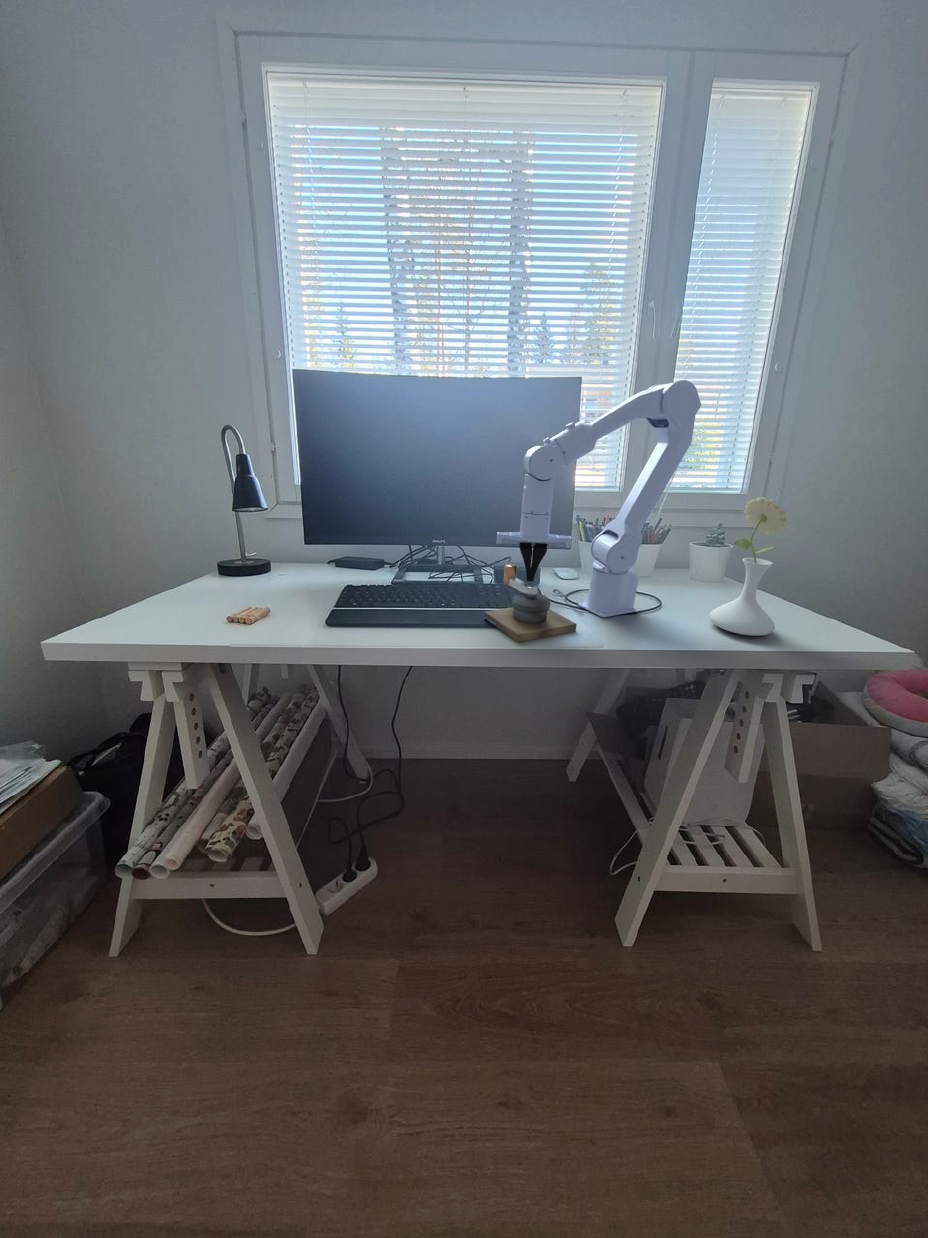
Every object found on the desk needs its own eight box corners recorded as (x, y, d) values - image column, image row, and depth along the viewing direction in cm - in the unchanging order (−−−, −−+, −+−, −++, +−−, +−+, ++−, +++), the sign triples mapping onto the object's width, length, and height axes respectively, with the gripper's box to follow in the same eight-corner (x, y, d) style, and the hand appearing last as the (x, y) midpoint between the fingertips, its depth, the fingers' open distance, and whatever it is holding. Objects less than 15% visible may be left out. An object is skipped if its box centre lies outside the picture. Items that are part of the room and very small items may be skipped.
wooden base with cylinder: (538, 610, 98) (540, 584, 96) (575, 631, 88) (579, 603, 86) (483, 618, 92) (485, 592, 90) (517, 642, 82) (520, 613, 80)
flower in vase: (786, 641, 87) (830, 505, 78) (727, 641, 86) (765, 503, 77) (743, 616, 99) (778, 494, 90) (691, 615, 99) (720, 493, 89)
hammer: (539, 598, 88) (541, 577, 86) (529, 599, 87) (531, 578, 85) (511, 582, 96) (512, 563, 94) (500, 583, 95) (502, 564, 93)
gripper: (571, 511, 94) (563, 576, 99) (498, 507, 94) (494, 572, 100) (576, 517, 87) (567, 586, 92) (498, 512, 88) (493, 582, 93)
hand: (529, 579), depth 95 cm, fingers closed
